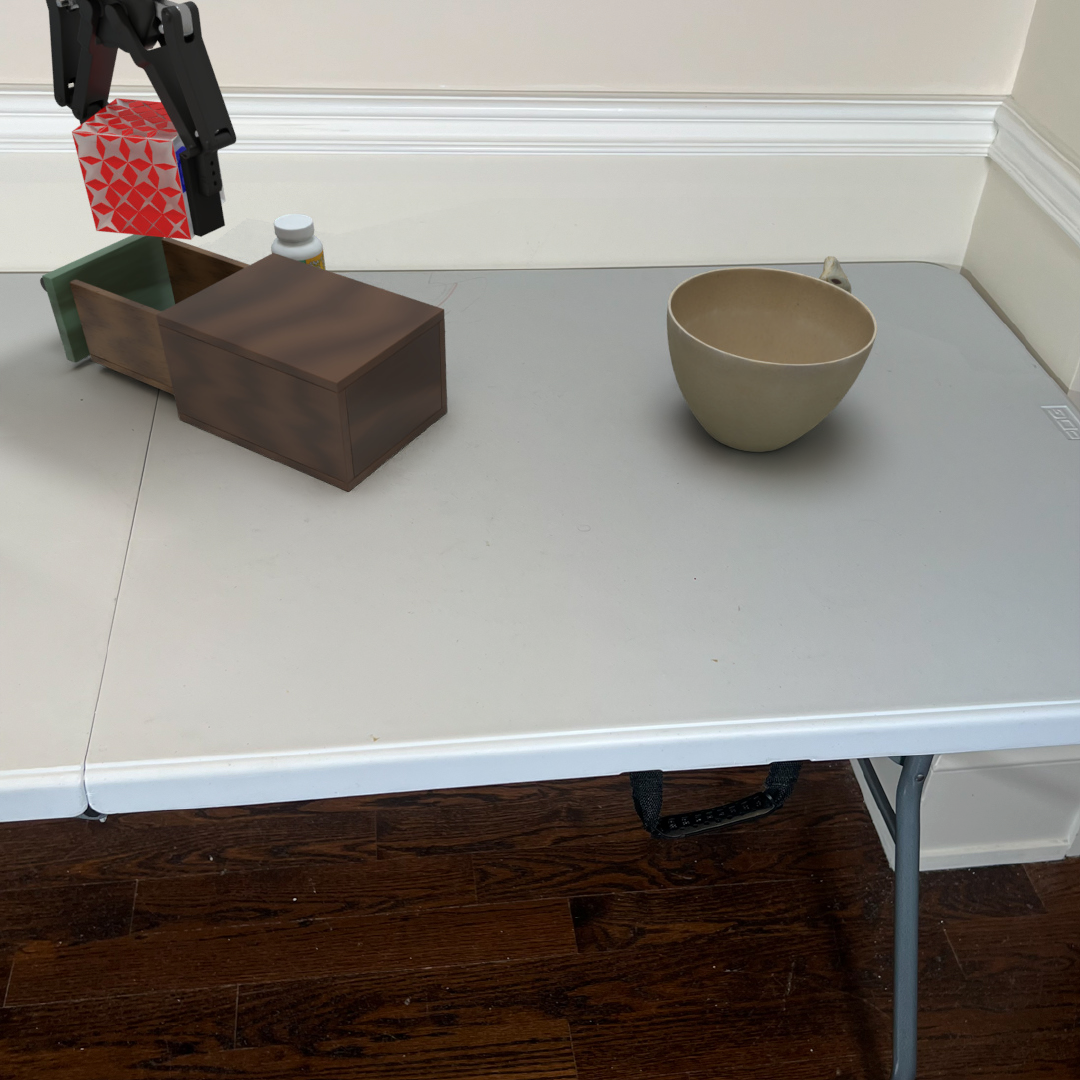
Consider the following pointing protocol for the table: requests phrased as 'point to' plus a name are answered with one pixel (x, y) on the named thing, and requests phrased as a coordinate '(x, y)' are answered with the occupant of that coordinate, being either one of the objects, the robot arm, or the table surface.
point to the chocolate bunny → (835, 274)
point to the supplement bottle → (298, 240)
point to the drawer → (129, 301)
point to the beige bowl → (765, 352)
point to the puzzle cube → (135, 170)
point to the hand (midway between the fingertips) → (162, 213)
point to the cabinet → (307, 367)
